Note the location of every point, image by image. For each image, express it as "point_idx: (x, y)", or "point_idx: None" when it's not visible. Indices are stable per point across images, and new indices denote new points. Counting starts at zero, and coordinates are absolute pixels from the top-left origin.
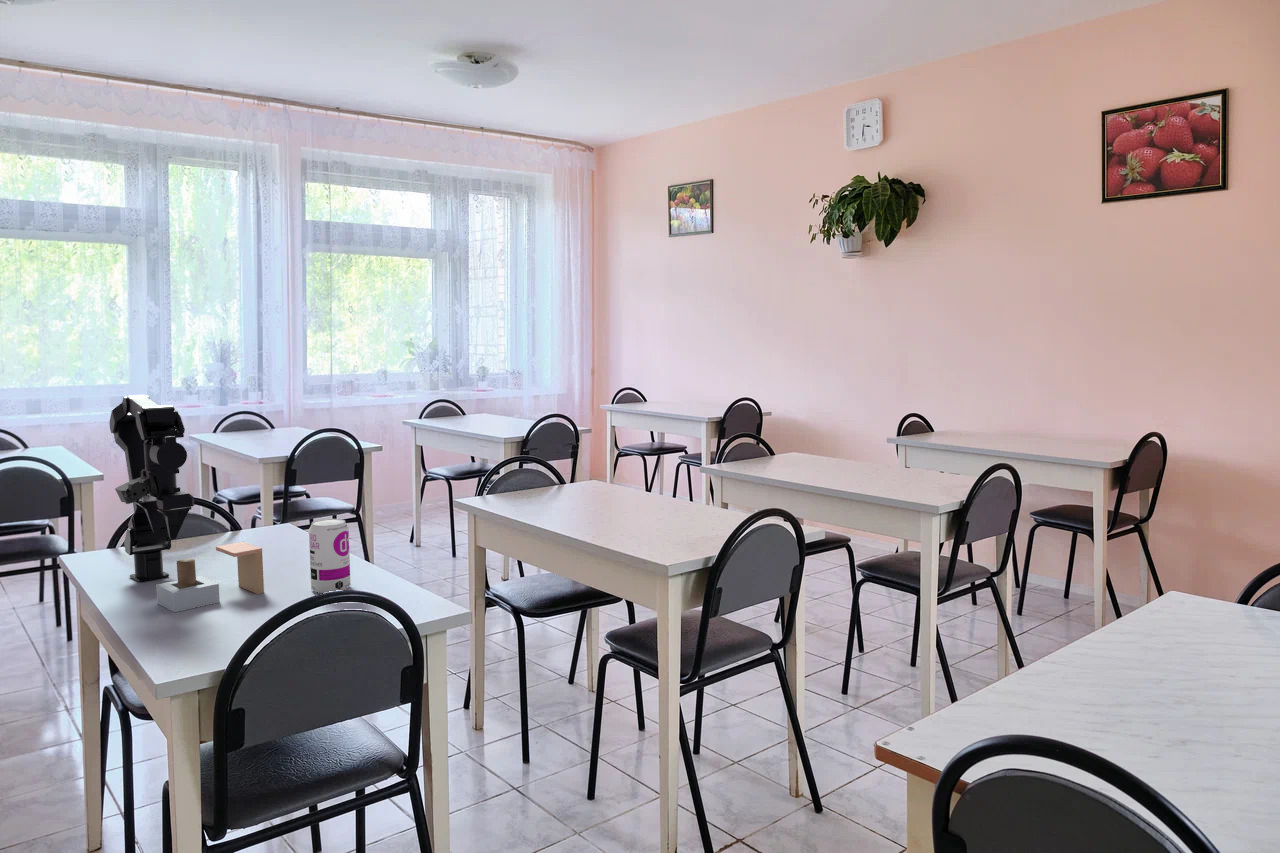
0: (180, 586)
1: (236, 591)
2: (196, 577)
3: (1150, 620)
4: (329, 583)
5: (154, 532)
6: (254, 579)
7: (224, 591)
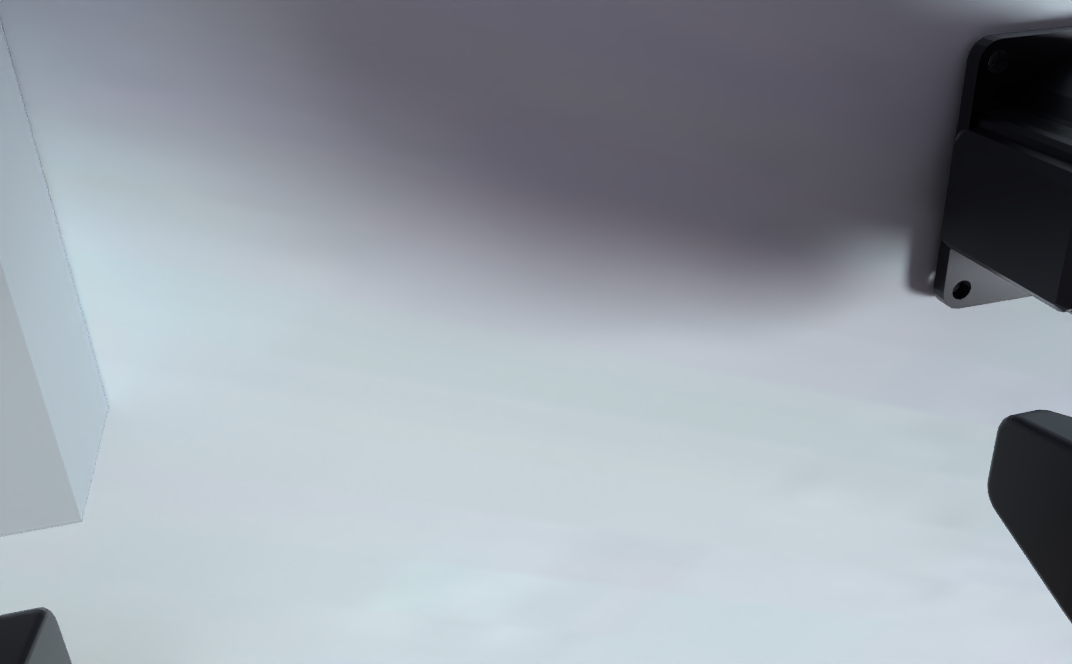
0: None
1: None
2: (24, 474)
3: None
4: None
5: (1005, 427)
6: None
7: (76, 578)
